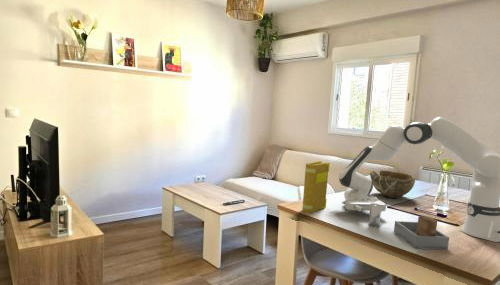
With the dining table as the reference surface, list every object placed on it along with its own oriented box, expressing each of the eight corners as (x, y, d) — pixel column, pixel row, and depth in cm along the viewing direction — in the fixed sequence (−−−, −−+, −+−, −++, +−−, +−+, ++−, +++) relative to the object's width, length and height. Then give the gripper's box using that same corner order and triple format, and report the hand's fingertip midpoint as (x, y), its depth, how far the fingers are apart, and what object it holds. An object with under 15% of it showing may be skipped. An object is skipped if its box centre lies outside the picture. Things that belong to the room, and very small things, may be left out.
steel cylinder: (376, 223, 159) (378, 203, 158) (381, 227, 154) (383, 206, 153) (366, 223, 159) (368, 203, 158) (370, 227, 154) (373, 206, 153)
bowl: (358, 192, 221) (360, 170, 219) (387, 189, 232) (389, 169, 231) (391, 203, 196) (394, 179, 194) (422, 200, 208) (425, 177, 206)
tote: (422, 232, 150) (423, 222, 150) (447, 249, 133) (449, 237, 132) (393, 231, 149) (395, 221, 149) (415, 248, 132) (416, 236, 131)
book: (314, 204, 185) (318, 160, 183) (325, 207, 181) (329, 162, 178) (299, 210, 172) (303, 163, 170) (310, 213, 168) (314, 165, 165)
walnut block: (427, 239, 140) (429, 216, 139) (434, 244, 135) (437, 220, 134) (415, 238, 139) (418, 216, 138) (422, 243, 134) (425, 220, 133)
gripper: (341, 195, 173) (350, 203, 160) (379, 197, 175) (391, 204, 161) (340, 207, 174) (349, 215, 160) (378, 208, 175) (390, 217, 161)
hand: (371, 210), depth 161 cm, fingers open, 8 cm apart
